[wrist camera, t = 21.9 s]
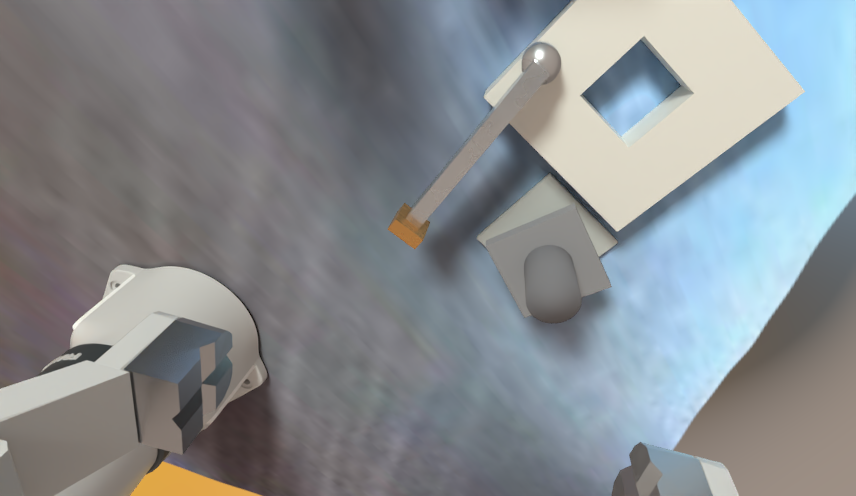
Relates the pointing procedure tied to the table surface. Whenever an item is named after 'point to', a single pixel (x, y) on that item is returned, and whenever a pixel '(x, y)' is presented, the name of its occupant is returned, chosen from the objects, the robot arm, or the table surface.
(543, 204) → the mat
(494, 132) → the ball-tipped lever rod
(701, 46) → the socket
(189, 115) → the table surface
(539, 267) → the plug
